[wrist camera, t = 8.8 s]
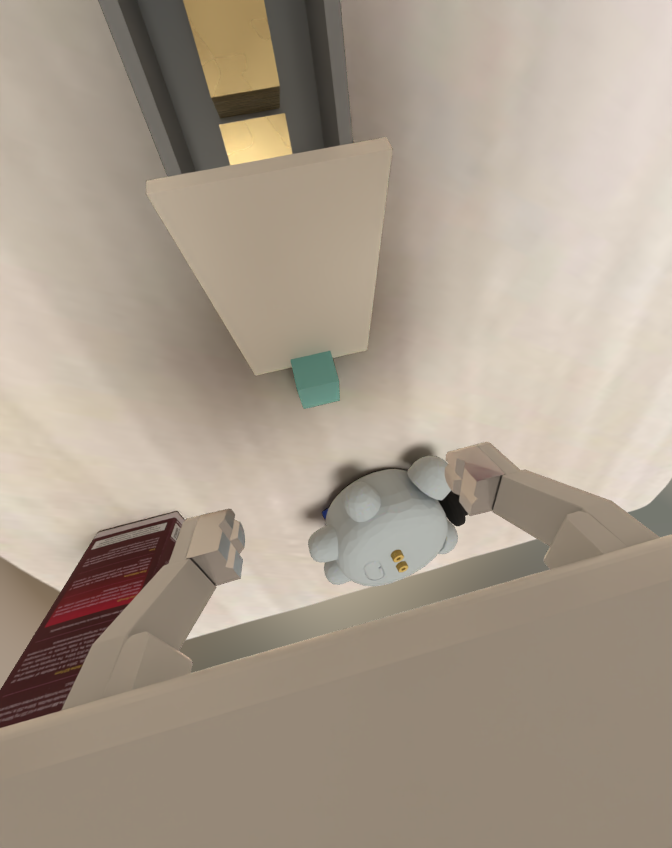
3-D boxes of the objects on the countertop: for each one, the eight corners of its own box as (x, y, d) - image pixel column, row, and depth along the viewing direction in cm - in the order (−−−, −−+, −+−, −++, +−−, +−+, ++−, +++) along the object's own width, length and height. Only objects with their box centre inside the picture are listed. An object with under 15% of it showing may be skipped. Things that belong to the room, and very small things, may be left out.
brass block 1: (179, -25, 11) (160, -79, 9) (252, -35, 11) (246, -91, 9) (220, 118, 13) (210, 97, 11) (279, 108, 13) (279, 85, 11)
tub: (106, -51, 11) (15, -210, 7) (305, -78, 11) (317, -241, 7) (220, 266, 17) (205, 271, 13) (344, 241, 17) (361, 239, 14)
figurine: (331, 563, 38) (454, 505, 39) (350, 631, 31) (499, 558, 32) (282, 486, 28) (449, 413, 29) (293, 561, 21) (512, 460, 22)
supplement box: (125, 555, 30) (7, 790, 17) (96, 530, 27) (-72, 788, 14) (201, 535, 30) (143, 749, 17) (179, 509, 28) (92, 739, 15)
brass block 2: (226, 141, 14) (218, 124, 12) (284, 131, 14) (284, 113, 12) (253, 235, 16) (250, 233, 14) (302, 225, 16) (305, 222, 14)
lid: (146, 171, 10) (145, 245, 8) (381, 128, 10) (417, 191, 9) (261, 375, 23) (268, 417, 21) (360, 352, 23) (374, 392, 22)
